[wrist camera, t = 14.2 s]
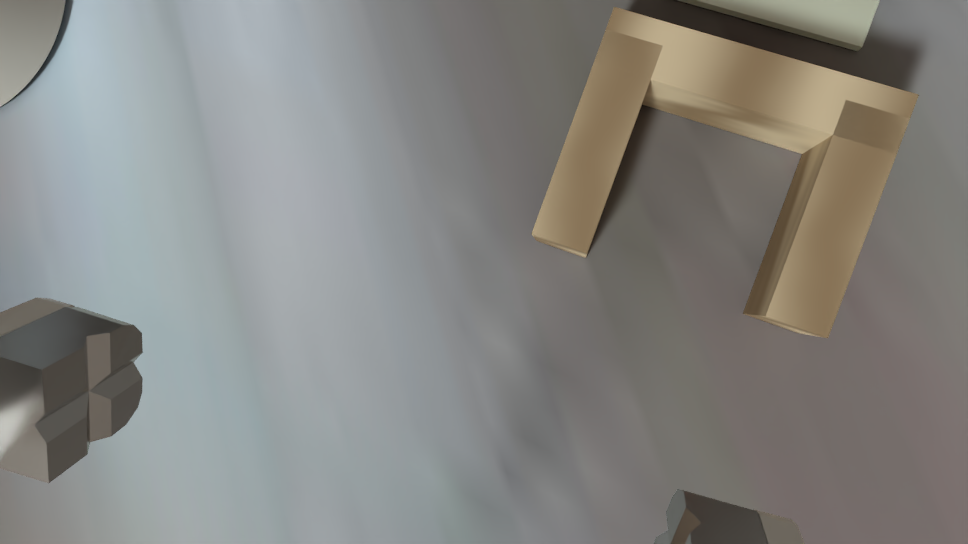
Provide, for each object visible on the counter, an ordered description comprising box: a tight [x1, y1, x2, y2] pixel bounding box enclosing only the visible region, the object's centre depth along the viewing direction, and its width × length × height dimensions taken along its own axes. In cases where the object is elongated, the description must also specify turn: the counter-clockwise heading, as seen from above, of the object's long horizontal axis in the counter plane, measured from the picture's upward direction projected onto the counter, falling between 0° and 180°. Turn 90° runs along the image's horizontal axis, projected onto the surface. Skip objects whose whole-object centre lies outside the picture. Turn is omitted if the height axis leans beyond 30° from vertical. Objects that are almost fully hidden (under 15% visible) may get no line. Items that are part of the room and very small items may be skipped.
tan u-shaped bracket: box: [532, 7, 919, 338], centre depth 28 cm, size 13×10×4 cm
